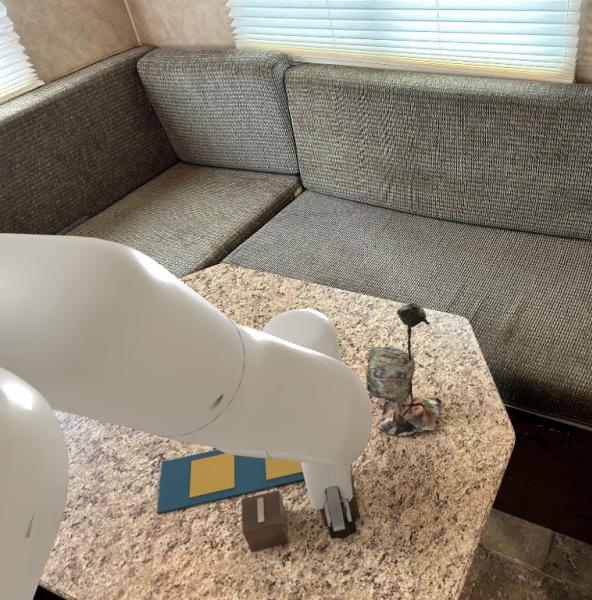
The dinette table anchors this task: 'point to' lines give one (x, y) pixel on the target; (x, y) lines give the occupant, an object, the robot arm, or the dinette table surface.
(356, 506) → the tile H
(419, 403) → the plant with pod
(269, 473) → the word mat
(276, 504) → the tile
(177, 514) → the dinette table surface
